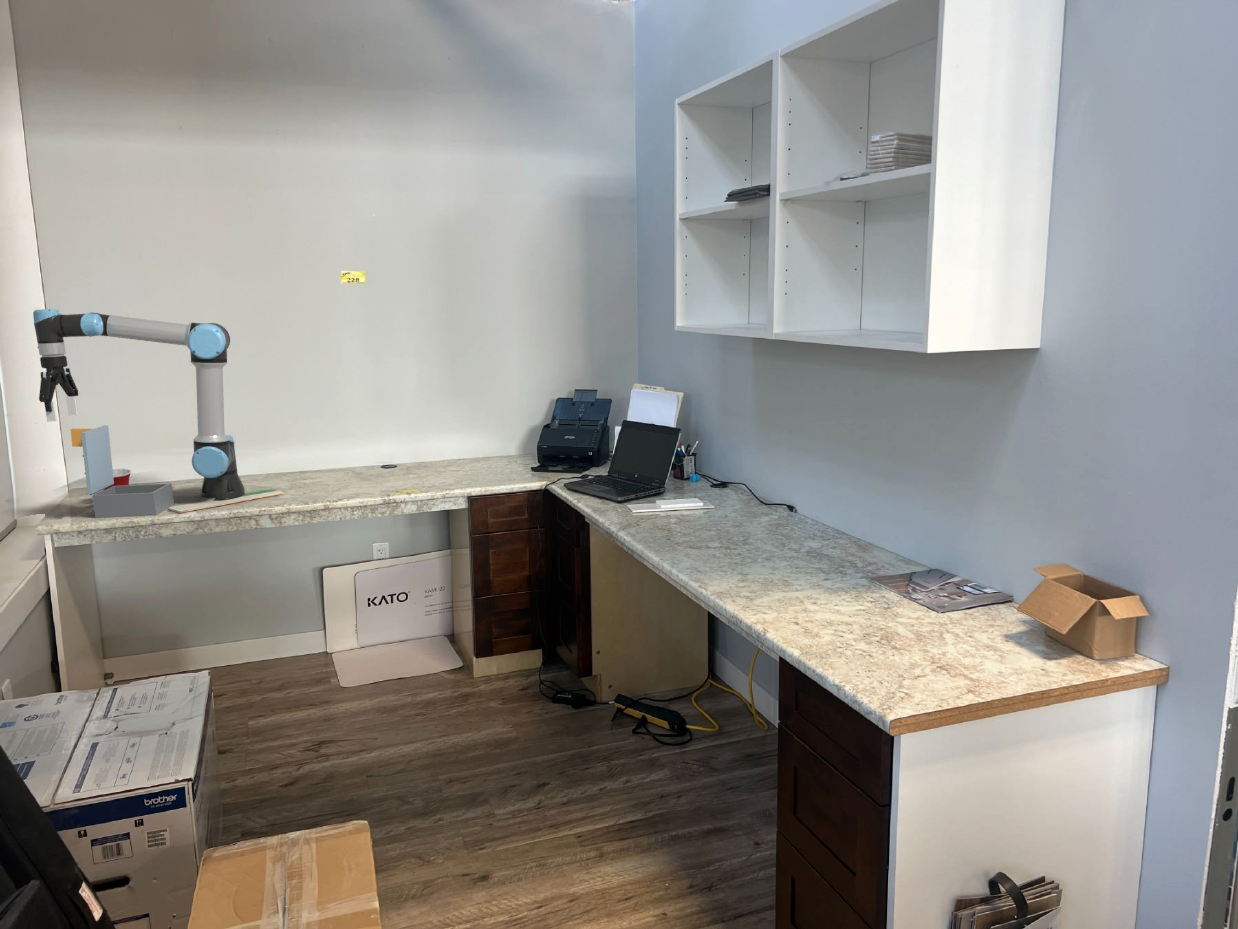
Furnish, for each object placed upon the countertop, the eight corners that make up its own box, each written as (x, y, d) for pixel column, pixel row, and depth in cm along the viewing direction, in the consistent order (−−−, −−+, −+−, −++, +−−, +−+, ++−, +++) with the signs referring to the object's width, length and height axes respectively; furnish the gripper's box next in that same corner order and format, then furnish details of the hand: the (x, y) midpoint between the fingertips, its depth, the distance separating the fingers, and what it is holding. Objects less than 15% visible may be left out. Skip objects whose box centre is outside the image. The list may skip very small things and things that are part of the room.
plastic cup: (105, 508, 315) (100, 476, 312) (99, 503, 323) (94, 471, 320) (139, 503, 322) (134, 471, 319) (131, 498, 330) (127, 467, 327)
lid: (108, 425, 306) (83, 425, 306) (84, 432, 291) (59, 432, 290) (114, 485, 311) (89, 485, 310) (91, 495, 295) (66, 495, 294)
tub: (174, 507, 314) (171, 483, 312) (156, 517, 299) (153, 493, 297) (116, 509, 312) (113, 485, 310) (96, 520, 298) (92, 495, 296)
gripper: (61, 353, 305) (70, 413, 309) (19, 359, 280) (30, 424, 285) (83, 352, 305) (92, 412, 310) (44, 358, 281) (54, 423, 285)
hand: (63, 418), depth 297 cm, fingers open, 13 cm apart
